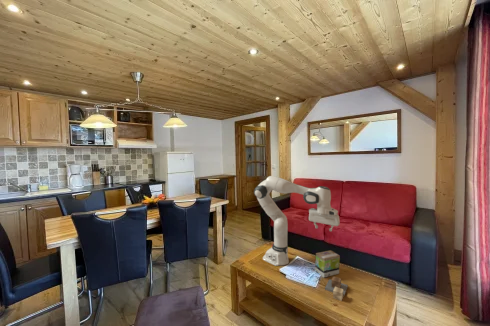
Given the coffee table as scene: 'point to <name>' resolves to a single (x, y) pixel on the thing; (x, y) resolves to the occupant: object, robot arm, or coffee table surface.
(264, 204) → the robot arm
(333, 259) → the tea box
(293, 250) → the coffee table surface
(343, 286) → the slate coaster
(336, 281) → the walnut cube
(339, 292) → the maple cube
